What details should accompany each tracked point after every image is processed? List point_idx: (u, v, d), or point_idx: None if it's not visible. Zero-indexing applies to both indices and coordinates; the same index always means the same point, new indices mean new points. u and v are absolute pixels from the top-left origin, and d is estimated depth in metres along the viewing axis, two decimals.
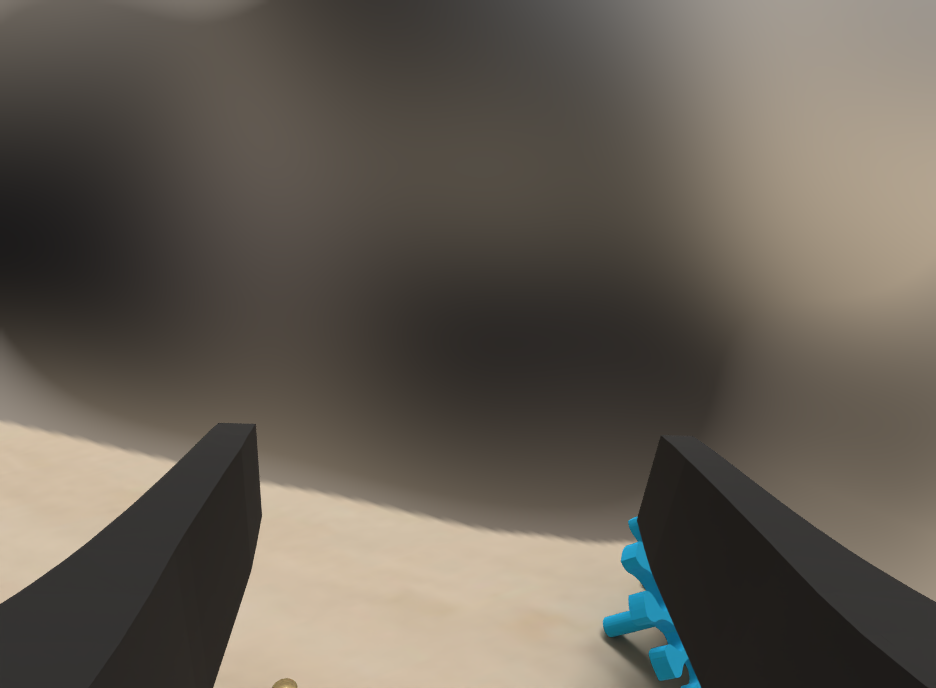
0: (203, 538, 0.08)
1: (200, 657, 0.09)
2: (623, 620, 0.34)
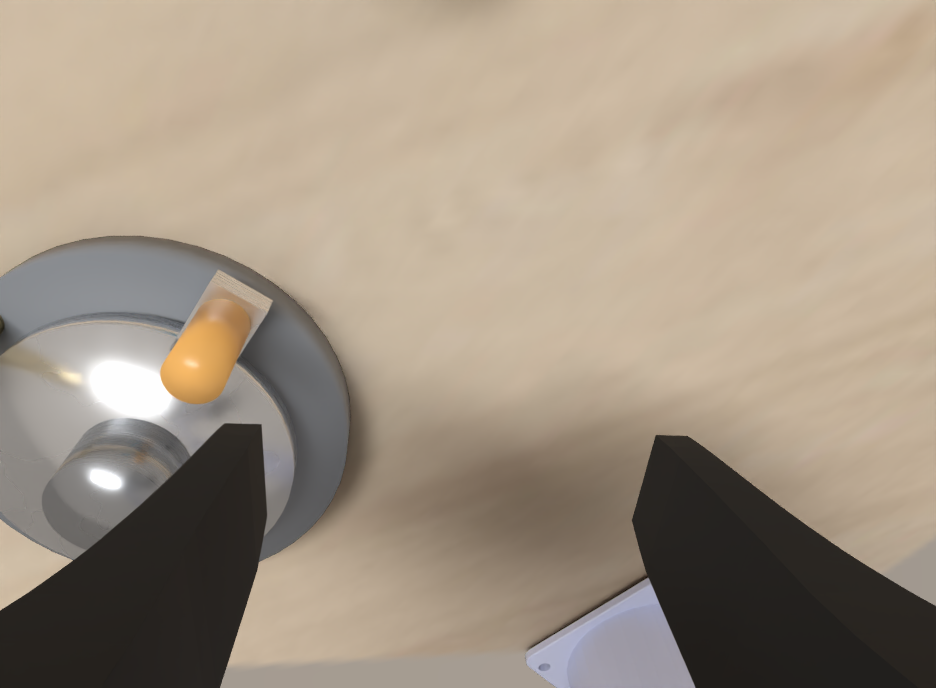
0: (211, 538, 0.08)
1: (207, 657, 0.09)
2: None
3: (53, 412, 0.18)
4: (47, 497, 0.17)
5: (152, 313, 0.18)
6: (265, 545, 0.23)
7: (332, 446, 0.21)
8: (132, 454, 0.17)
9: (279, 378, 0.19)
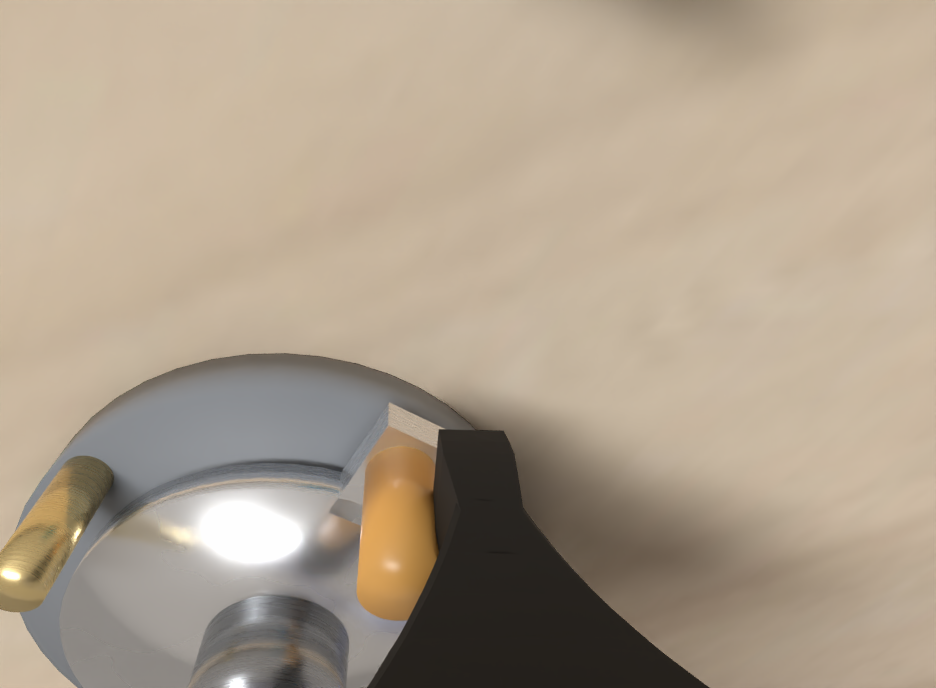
0: None
1: None
2: None
3: (175, 596, 0.14)
4: None
5: (307, 458, 0.14)
6: None
7: None
8: (290, 658, 0.13)
9: None
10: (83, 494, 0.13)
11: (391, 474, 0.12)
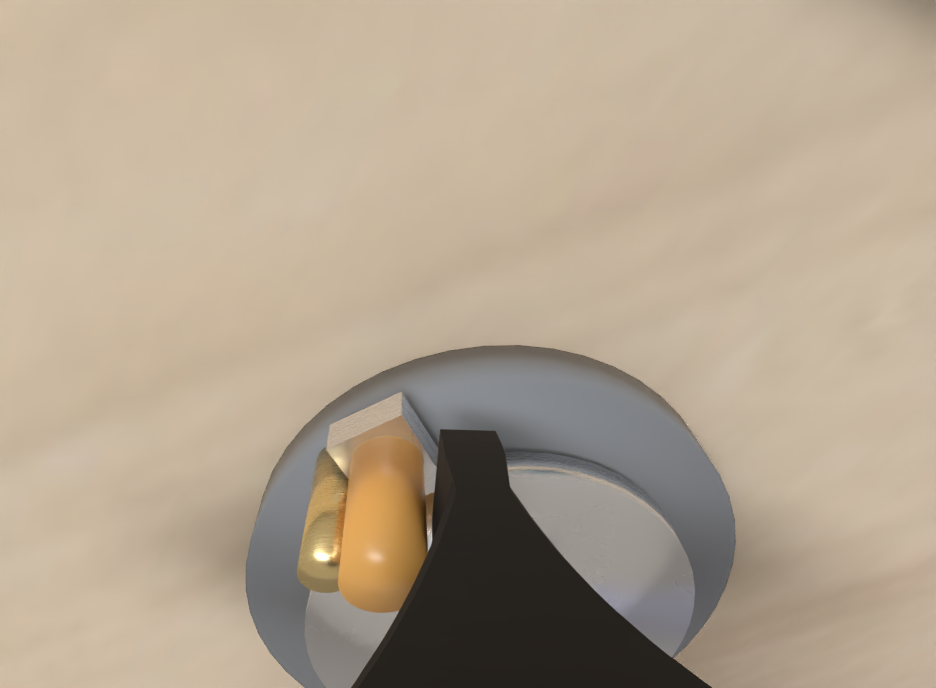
0: None
1: None
2: None
3: None
4: None
5: (548, 447, 0.14)
6: None
7: (707, 589, 0.17)
8: None
9: (673, 517, 0.15)
10: None
11: (349, 485, 0.12)
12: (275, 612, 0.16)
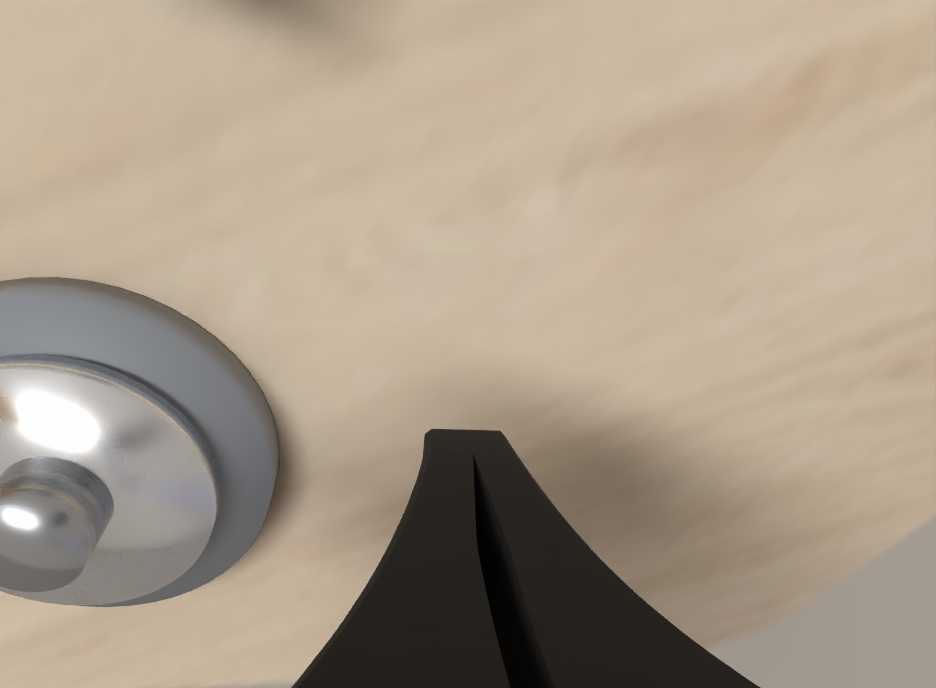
0: None
1: None
2: None
3: None
4: None
5: (69, 354, 0.18)
6: (196, 574, 0.23)
7: (256, 480, 0.21)
8: None
9: (199, 415, 0.20)
10: None
11: None
12: None
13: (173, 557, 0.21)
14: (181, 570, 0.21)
